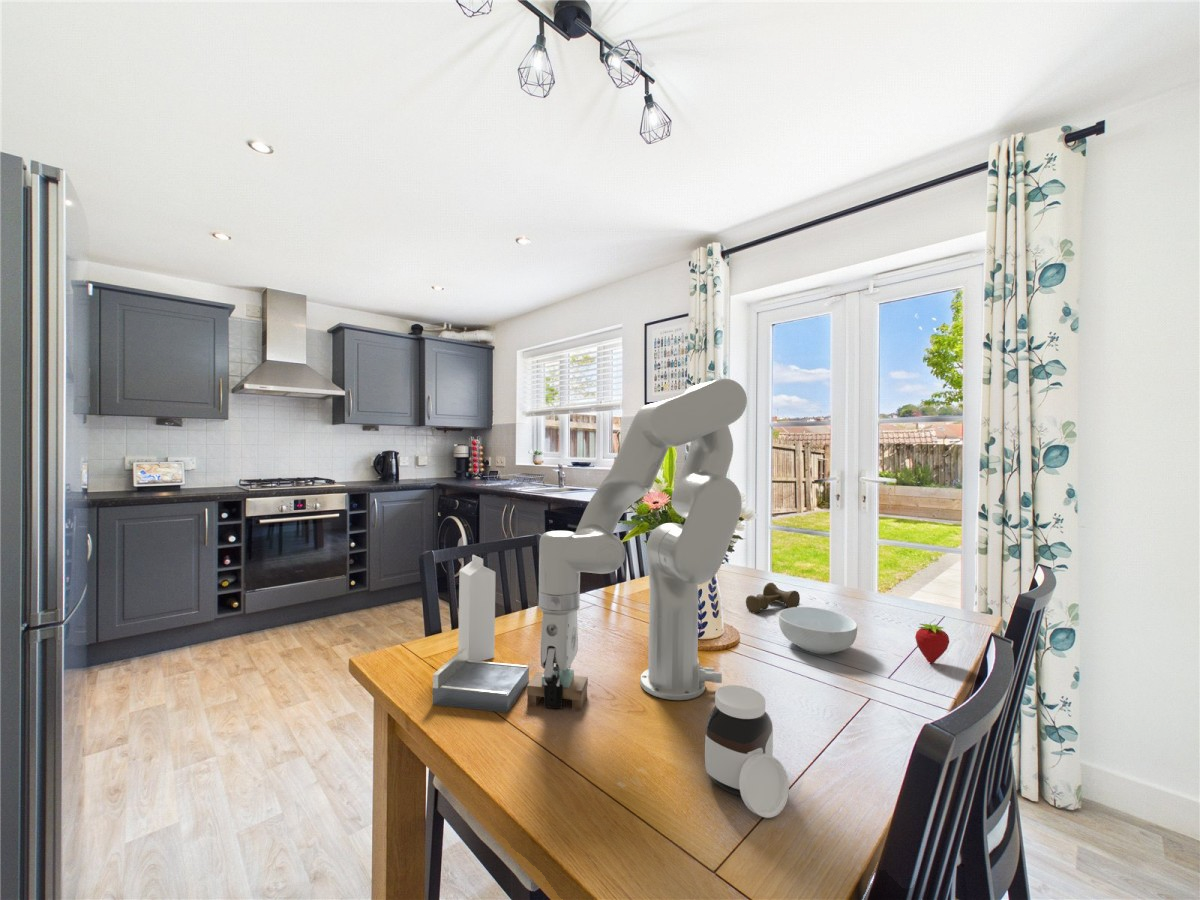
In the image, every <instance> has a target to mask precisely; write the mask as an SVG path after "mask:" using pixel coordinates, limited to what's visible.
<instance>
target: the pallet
mask: <svg viewBox="0 0 1200 900" xmlns="http://www.w3.org/2000/svg"><path fill="white" fill-rule="evenodd" d="M543 674H544V672H539V671H538V672H537V671H535V673H534V675H533V676H532V678H531V679H530V680H529V682H528V683H527V685H526V695H527V697H526V699H527V700H526V701H527V706H534V707H537V705H538V703H539V701H540V700H541V698H542V697H543V698H544V685H542V676H543ZM588 680H589V679H588V676H583V675H581V676H580V675H574V678H573V680H572V682H571V684H570V686H569V688H568V687H563V700H570V701H571V710H572V711H579V712H581V711H582V709H583V706H584V704H585V702H586V699H587V696H588V687H589V686H588V683H589V681H588Z"/></svg>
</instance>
